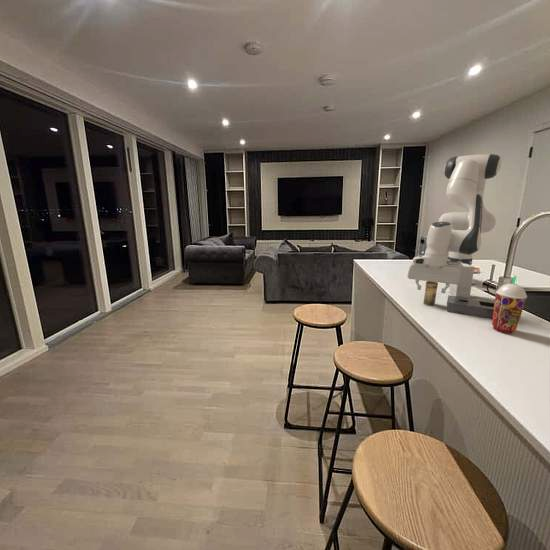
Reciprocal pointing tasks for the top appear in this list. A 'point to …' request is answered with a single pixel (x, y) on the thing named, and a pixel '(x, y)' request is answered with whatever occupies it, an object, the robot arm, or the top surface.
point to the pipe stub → (430, 293)
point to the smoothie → (508, 307)
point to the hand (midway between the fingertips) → (430, 291)
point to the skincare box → (463, 283)
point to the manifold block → (470, 306)
